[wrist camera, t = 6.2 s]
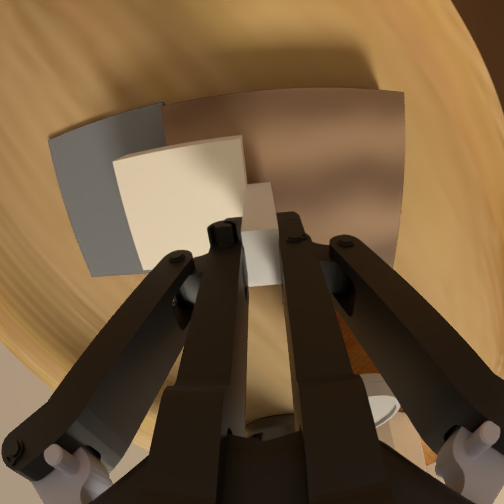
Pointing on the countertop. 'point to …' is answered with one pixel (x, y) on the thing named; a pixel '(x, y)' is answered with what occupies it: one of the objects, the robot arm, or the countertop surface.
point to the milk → (403, 438)
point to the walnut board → (314, 154)
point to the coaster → (181, 194)
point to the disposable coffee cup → (369, 378)
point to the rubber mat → (103, 185)
